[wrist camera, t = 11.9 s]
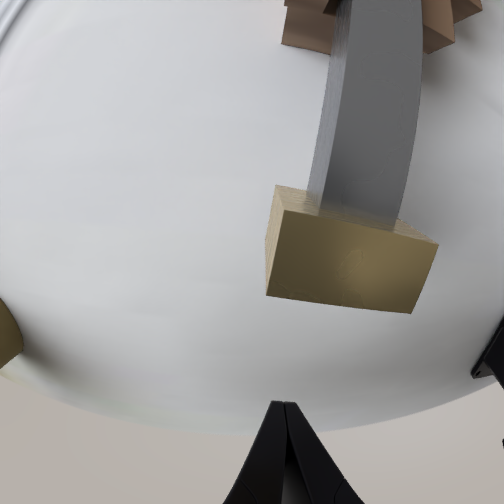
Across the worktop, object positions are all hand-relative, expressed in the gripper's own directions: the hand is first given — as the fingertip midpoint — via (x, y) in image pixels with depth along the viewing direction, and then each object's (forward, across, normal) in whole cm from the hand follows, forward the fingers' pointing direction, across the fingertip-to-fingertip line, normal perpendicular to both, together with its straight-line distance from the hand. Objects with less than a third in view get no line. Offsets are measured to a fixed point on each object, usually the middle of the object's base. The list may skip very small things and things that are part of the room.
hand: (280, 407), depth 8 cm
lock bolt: (+1, 0, -9) cm, 10 cm away
